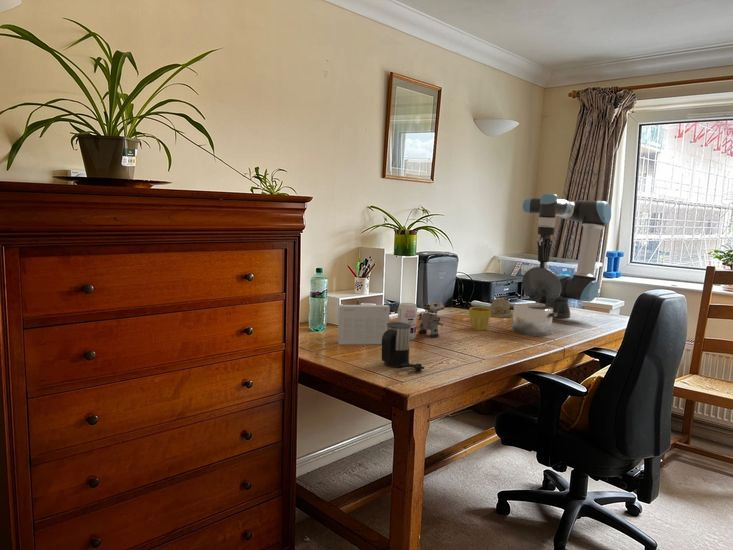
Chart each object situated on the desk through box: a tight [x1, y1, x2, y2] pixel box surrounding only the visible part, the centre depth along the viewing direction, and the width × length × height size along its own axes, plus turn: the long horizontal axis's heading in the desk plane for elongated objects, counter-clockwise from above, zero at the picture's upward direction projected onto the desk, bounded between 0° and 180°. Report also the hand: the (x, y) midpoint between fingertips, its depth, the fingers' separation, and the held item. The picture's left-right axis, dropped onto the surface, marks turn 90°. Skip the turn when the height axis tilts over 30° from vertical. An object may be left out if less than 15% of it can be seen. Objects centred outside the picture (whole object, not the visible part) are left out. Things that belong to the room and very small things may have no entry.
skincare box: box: [337, 304, 391, 345], centre depth 230 cm, size 21×6×16 cm, turn 100°
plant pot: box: [468, 306, 492, 331], centre depth 268 cm, size 10×10×10 cm
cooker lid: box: [521, 266, 561, 305], centre depth 271 cm, size 19×19×4 cm
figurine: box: [417, 300, 445, 338], centre depth 250 cm, size 9×12×15 cm
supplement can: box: [397, 302, 418, 341], centre depth 242 cm, size 8×8×15 cm
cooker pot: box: [510, 303, 557, 337], centre depth 267 cm, size 20×22×12 cm
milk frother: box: [381, 321, 425, 372], centre depth 199 cm, size 14×16×15 cm
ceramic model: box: [489, 297, 513, 319], centre depth 303 cm, size 14×11×10 cm
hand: (542, 275), depth 269 cm, fingers closed
